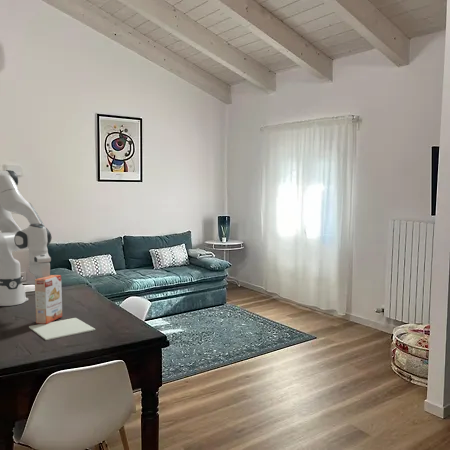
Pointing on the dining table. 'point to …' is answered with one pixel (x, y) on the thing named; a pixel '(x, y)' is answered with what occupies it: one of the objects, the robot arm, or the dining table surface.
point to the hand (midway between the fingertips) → (39, 284)
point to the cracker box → (48, 299)
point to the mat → (61, 328)
